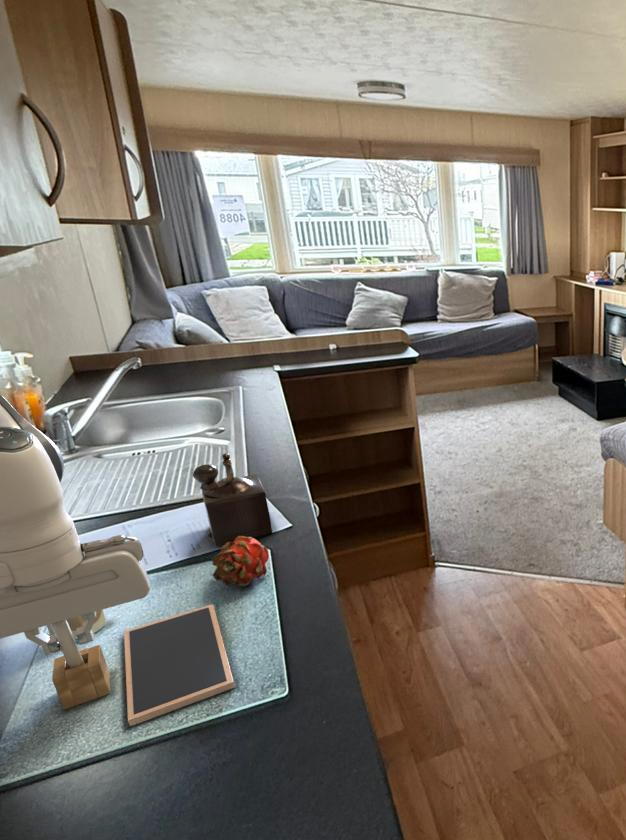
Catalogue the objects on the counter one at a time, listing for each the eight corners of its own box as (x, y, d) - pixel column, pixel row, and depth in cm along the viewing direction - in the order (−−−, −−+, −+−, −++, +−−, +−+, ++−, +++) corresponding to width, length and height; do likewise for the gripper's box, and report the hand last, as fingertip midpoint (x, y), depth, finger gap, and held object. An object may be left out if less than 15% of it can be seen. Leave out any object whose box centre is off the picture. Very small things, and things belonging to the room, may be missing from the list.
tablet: (129, 726, 83) (127, 720, 82) (125, 636, 99) (123, 630, 99) (235, 687, 89) (233, 681, 89) (214, 608, 106) (212, 603, 105)
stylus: (80, 697, 87) (41, 608, 82) (80, 690, 89) (42, 601, 83) (95, 691, 88) (57, 603, 83) (95, 684, 90) (58, 597, 84)
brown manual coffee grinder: (206, 527, 131) (184, 444, 124) (266, 513, 137) (248, 433, 130) (214, 561, 119) (190, 472, 112) (279, 544, 125) (261, 458, 118)
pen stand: (63, 709, 85) (51, 679, 83) (65, 687, 89) (54, 658, 87) (110, 693, 88) (99, 664, 86) (110, 673, 92) (99, 644, 90)
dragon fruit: (240, 608, 108) (245, 580, 119) (280, 570, 110) (281, 547, 121) (197, 577, 105) (206, 552, 115) (238, 539, 106) (243, 517, 117)
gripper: (136, 521, 88) (161, 606, 94) (-70, 569, 77) (-28, 662, 83) (137, 540, 84) (164, 629, 89) (-81, 594, 73) (-36, 691, 78)
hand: (70, 645), depth 86 cm, fingers closed
